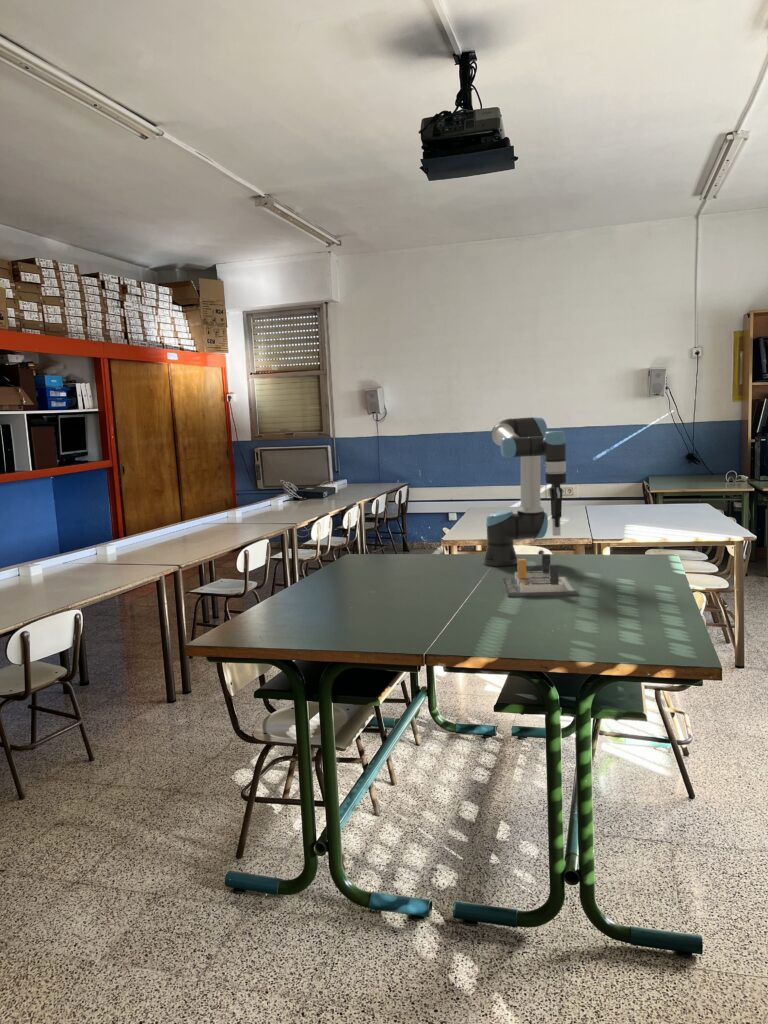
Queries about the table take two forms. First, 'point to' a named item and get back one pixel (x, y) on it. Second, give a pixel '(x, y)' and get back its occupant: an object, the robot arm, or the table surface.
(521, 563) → the breaker handle
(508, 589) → the breaker panel
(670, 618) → the table surface
